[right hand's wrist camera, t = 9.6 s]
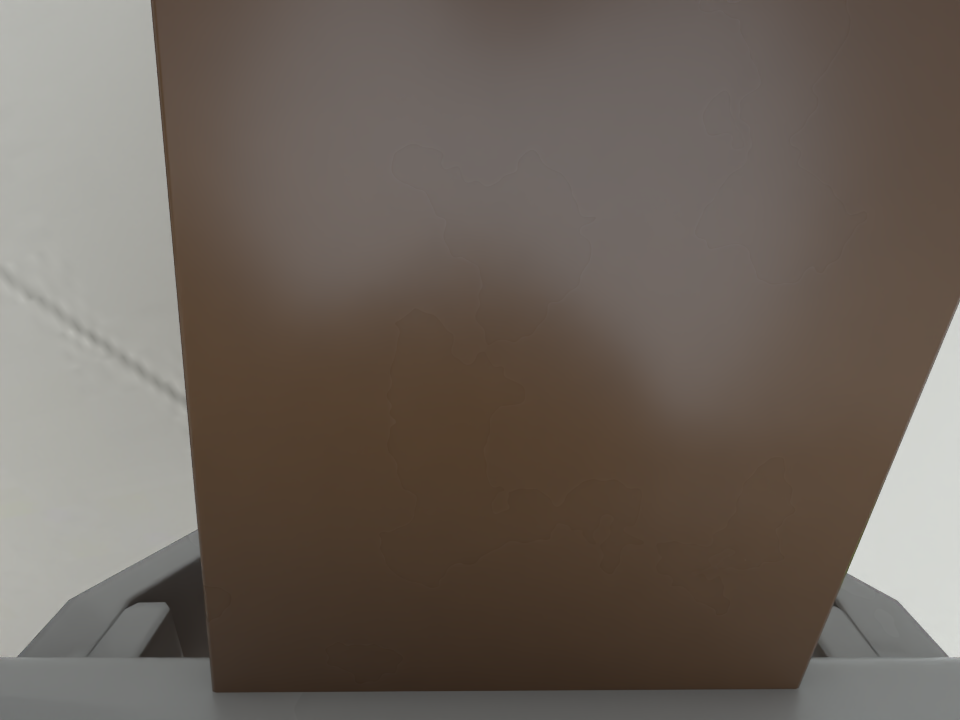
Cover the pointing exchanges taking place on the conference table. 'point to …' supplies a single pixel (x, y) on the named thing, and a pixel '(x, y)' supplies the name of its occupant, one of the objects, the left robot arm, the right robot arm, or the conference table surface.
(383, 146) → the bar
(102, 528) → the conference table surface
